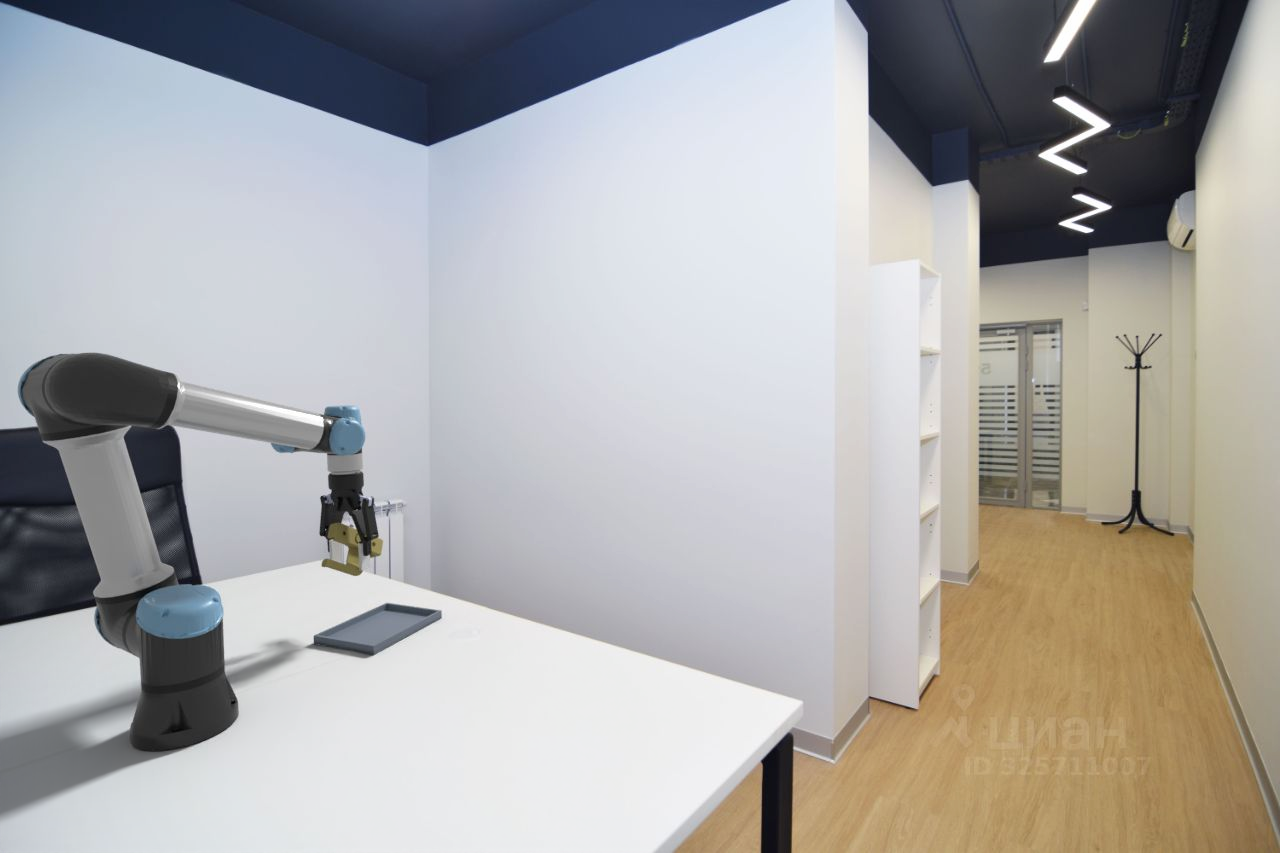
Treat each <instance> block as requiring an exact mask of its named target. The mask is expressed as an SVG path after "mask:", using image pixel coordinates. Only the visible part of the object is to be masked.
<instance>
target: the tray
mask: <svg viewBox="0 0 1280 853" xmlns="http://www.w3.org/2000/svg"><path fill="white" fill-rule="evenodd" d="M442 613H443V612H442V610H441V609H434V608H427V607H419V606H413V605H405V604H399V603H393V602H385V603H383V604H381V605H378V606H376V607H374V608H371V609H369V610H367V611H364V612H363V613H360V614H359V615H356V616H354V617H352V618H350V619H347V620H345V621H343V622H341V623H338V624H337V625H335V626H332V627H330V628H328V629H325V630H323V631H321V632H319V633H317V634H315V635H314V634H313V645H316V646H322V647H327V648H334V649H337V650H345V651H350V652H355V653H361V654H367V655H370V656H371V655H372V656H374V655H375V656H376V655H377V654H379V653H380V652H383V651H384V650H386V649H387V648H390V647H391V646H394V645H395V644H398V643H399V642H400V641H403V640H404V639H406V638H408V637H410V636H412V635H413V634H416V633H417V632H419V631H421V630H423V629H425V628H427V627H428V626H430V625H432V624H434V623H436V622H437V621H439V620H441V619H442V618H443V617H442V616H443V614H442Z"/></svg>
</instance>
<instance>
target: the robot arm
mask: <svg viewBox="0 0 1280 853" xmlns="http://www.w3.org/2000/svg"><path fill="white" fill-rule="evenodd" d="M17 394H18V395H17V396H18V399H19V401H20V404H21V405H22V406H23V408H24V409H25V411H27V413H28V414H30V415H31V416H32V417H33V418H34V419H35V423H36V425H37V429H38V432H39V434H40V437H41V440H42V442H43V443H44V444H46V445H48V446H49V447H50V446H51V447H53V448H55V449H57V451H58V453H59V456H60V458H61V462H62V465H63V468H64V471H65V474H66V478H67V479H68V483H69V487H70V489H71V492H72V495H73V498H74V501H75V505H76V508H77V510H78V514H79V518H80V520H81V523H82V526H83V529H84V532H85V535H86V538H87V541H88V544H89V546H90V547H89V548H90V550H91V553H92V556H93V559H94V563H95V565H96V568H97V572H98V575H99V577H100V581H99V583H98V584H97V585H96V587H95V588H94V590H93V591H92V593H93V598H94V599H95V603H96V608H95V611H94V617H93V621H94V625H95V628H96V630H97V632H98V634H99V635H100V636H101V638H102V639H103V640H104V641H105V642H106V643H108V644H109V645H111V646H113V647H115V648H116V649H119V650H122V651H125V652H126V653H129V654H131V655H133V656H134V657H137V658H138V659H139V670H140V672H139V673H140V686H141V692H140V696H139V699H138V703H137V704H136V709H135V712H134V714H133V719H132V722H131V723H130V727H129V739H130V740H129V741H130V744H131V746H132V747H134V748H135V749H137V750H142V751H148V752H152V751H153V752H157V751H166V750H167V751H168V750H173V749H178V748H182V747H186V746H187V747H188V746H191V745H192V744H193V745H194V744H197V743H200V742H202V741H205V740H207V739H209V738H212V737H214V736H216V735H218V734H220V733H221V732H223V731H225V730H226V729H228V728H229V727H230V726H232V725H233V724H234V722H236V720H237V719H238V717H239V701H238V698H237V696H236V693H235V691H234V689H233V688H232V685H231V683H230V680H229V679H228V677H227V675H226V665H225V642H224V639H225V638H224V636H225V635H224V614H225V613H224V606H223V604H222V603H223V602H222V597H221V595H220V593H219V592H218V591H217V590H216V589H214V588H213V587H212V586H207V585H203V584H195V585H192V584H191V583H187V584H185V583H184V584H179V582H178V578H177V574H176V572H175V568H174V566H171V565H170V564H167V563H163V562H162V560H161V557H160V555H159V554H160V553H159V551H158V546H157V544H156V539H155V538H154V534H153V532H152V528H151V525H150V520H149V518H148V514H147V511H146V508H145V505H144V502H143V498H142V495H141V491H140V487H139V485H138V481H137V478H136V474H135V471H134V468H133V464H132V461H131V458H130V455H129V451H128V448H127V444H126V441H125V439H124V438H125V435H126V434H127V433H128V431H129V430H130V429H131V428H132V427H141V428H149V429H155V430H161V429H163V428H164V427H166V426H172V427H179V428H184V429H189V430H195V431H201V432H208V433H212V434H219V435H223V436H230V437H236V438H241V439H247V440H254V441H258V442H265V443H269V444H270V446H271V447H272V449H273V450H275V452H278V453H279V454H285V453H290V454H294V453H297V452H298V453H299V452H304V453H318V454H326V464H327V471H328V472H329V473H328V475H327V482H328V484H327V486H328V489H329V490H330V491H331V492H330V493H328V494H324V495H320V497H319V499H320V500H319V501H320V504H321V509H320V523H319V533H318V534H319V536H320V537H324V538H325V539H326V542H327V552H328V553H329V559H330V560H333V561H336V562H339V563H342V561H343V560H342V547H341V546H342V543H339V542H336V541H333V539H335V538H334V537H333V538H328V532H329V527H330V525H331V524H334V523H338V522H339V523H342V521H343V518H344V515H345V513H346V512H347V513H348V515H349V516H350V517H351V519H352V521H353V524H354V526H355V529H357V532H358V534H359V537H360V540H361V541H360V542H359V543H358V552H359V570H360V571H362V570H363V571H364V570H365V571H366V570H367V569H370V568H371V558H370V555H371V553H372V547H371V541H372V540H373V539H376V538H380V537H379V536H380V535H379V529H378V524H377V519H376V514H375V508H374V505H375V498H374V496H369V497H368V496H365V495H364V493H363V487H364V486H365V483H364V482H365V480H364V479H365V478H364V472H363V471H361V470H363V468H364V464H363V459H364V458H363V446H364V444H365V441H366V430H365V428H364V427H363V423H362V418H361V417H362V416H361V415H362V414H361V412H360V408H359V407H358V406H356V405H332V406H331V405H330V406H326V407H325V408H324V413H321V414H320V413H317V412H313V411H310V410H309V411H308V410H306V409H300V408H296V407H292V406H288V405H284V404H278V403H276V402H275V403H274V402H270V401H266V400H263V399H258V398H253V397H250V396H244V395H240V394H236V393H232V392H227V391H222V390H219V389H215V388H210V387H207V386H201V385H197V384H193V383H190V382H188V383H187V382H186V381H185V382H184V381H181V380H180V378H179V376H177V374H176V373H173V372H169V371H165V370H161V369H157V368H155V367H154V368H153V367H150V366H148V365H147V366H146V365H144V364H141V363H137V362H133V361H131V360H127V359H124V358H121V357H118V356H114V355H111V354H107V353H102V352H80V353H59V354H55V355H49V356H46V357H45V358H42V359H40V360H38V361H36V362H34V363H33V364H31V365H30V366H29V367H28V368H27V369H25V370H24V372H23V373H22V375H21V376H20V379H19V381H18V385H17ZM365 535H366V537H365ZM342 564H343V563H342Z"/></svg>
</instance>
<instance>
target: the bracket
mask: <svg viewBox="0 0 1280 853" xmlns="http://www.w3.org/2000/svg"><path fill="white" fill-rule="evenodd" d="M333 537H334V538H335V539H333V541H336V542H339V543H341V545H343V546H345V547H347V548H348V551H347V555H346V556H347V557H346V561H345V563H346V564H345V563H339V562H336V561H333V560H330V558H324V559H322V561H321V567H322V568H329V569H331V570H335V571H336V572H338V571H339V572H341V573H344V574H346V575H351V576H352V577H358V576H361V574H363V572H364V570H362V571H360V570H359V552H358V543H359V542H360V541H361V540H360V537H359V534H358V532H357V529H356V528H354V527H352V526H349V525H346V524H344V523H342V522H341V523H339V522H338V523H334V524H331V525H330V527H329V532H328V538H333ZM365 537H366V535H365ZM383 544H384V539H382V538H380V537H378V538H376V539H373V540H372V541H371V547H372V553H371V555H370V559H372V558H376V557H380V556H381V555H382V551H383V546H384V545H383Z"/></svg>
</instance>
